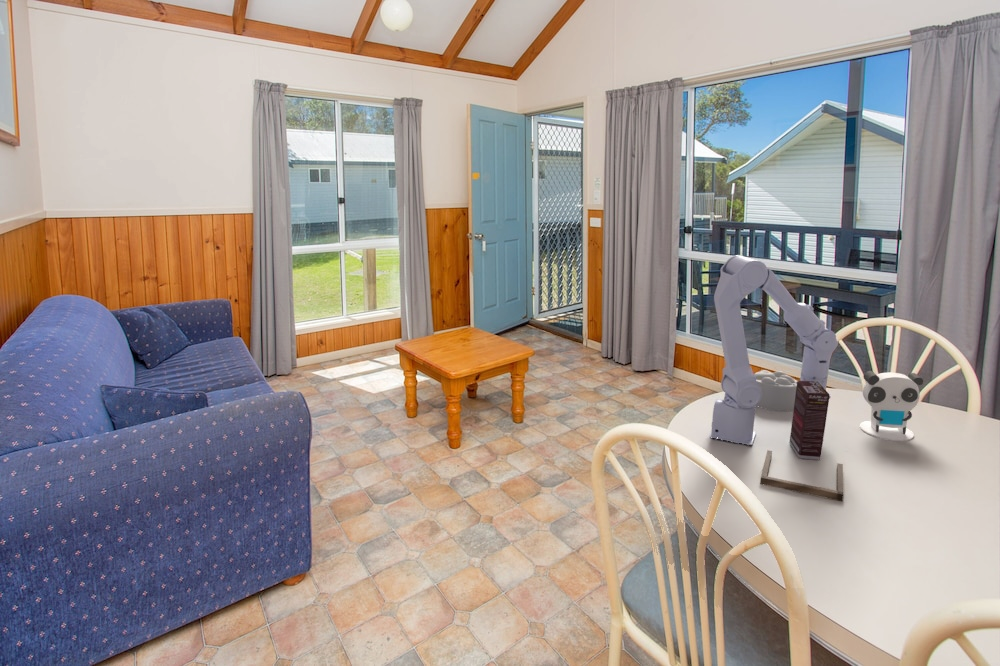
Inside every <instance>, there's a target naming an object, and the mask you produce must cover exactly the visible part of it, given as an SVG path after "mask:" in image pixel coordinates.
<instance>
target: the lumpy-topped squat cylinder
mask: <svg viewBox="0 0 1000 666" xmlns="http://www.w3.org/2000/svg"><path fill="white" fill-rule="evenodd" d="M754 375H755V377H756V382H757V384H758V385H759V386H760V388H761V389H762V399H761V401H760V402H759V403H758V404H757V405H756V407H757V406H759V407H758V408H760V407H762V408H761V409H764V408H766V409H765V410H768V409H769V410H768V411H772V410H775V411H774V412H784V413H785V412H789V411H790V412H793V411H794V403H795V395H796V387H797V381H798V380H796V378H793V376H791V375H789V374H788V375H787V374H786V372H784V371H782V370H776V371H774V372H772V371H769V370H767V369H761V370H759V371H757V372H755V373H754ZM790 412H789V413H790Z"/></svg>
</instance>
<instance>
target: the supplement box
mask: <svg viewBox="0 0 1000 666" xmlns="http://www.w3.org/2000/svg"><path fill="white" fill-rule="evenodd" d="M830 394H831V393H829V392H828V391H827V389H826V390H825V389H824V388H823V387H822V386H821V385H820V384H819V382H814V381H800V380H797V387H796V395H795V403H794V411H792V412H793V414H792V421H791V428H790V429H791V430H790V436H789V444H790V446H791V448H792V449H793V451H794V452H795V454H796V456H797V457H798V459H802V460H803V459H804V460H814V461H815V460H816V461H821V457H822V451H823V444H824V443H823V442H824V438H825V437H824V436H825V431H826V429H825V428H826V422H827V415H828V410H829V409H828V408H829V401H830V399H829V396H830Z"/></svg>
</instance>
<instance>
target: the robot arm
mask: <svg viewBox="0 0 1000 666" xmlns="http://www.w3.org/2000/svg"><path fill="white" fill-rule="evenodd" d="M758 289H760V290H763V291H764V292H765V293H766V294H767V295H768V296H769V297H770V298H771V299H772V300H773V302H775V303H776V304H777V305H778V306H779V308H781V309H782V310H783V320H784V321H785V322H786V323H787V324H788V325H789V326H790V328H791V329H792V330H793V331H794V332H795V333H796V334H797V336H798V337H799V341H800V343H801V344H804V347H803V355H802V363H801V368H800V378H799V381H814V382H819V384H820V385H821V386H822V387H823V388H824V389H825V390H826V391H827V385H828V377H829V372H830V371H829V369H830V362H831V358H832V354H833V352H834V351H835V350H836V349H837V347H838V345H839V341H838V340H837V335H836V333H835V332H834V331H833V330H830V329H829V328H826V322H825V320H822V319H820V318H819V317H818V316H817V315H816V314H815V313H814V310H815V308H814V307H813V306H812V305H810V304H806V303H804V302H797V301H796V299H795V298H794V297H793V296H792V295H791V293H790V291H788V290H787V288H786V287H785V286H784V285H783V283H782V282H781V280H780V279H779V278H778V276H776V274H775V273H774V271H773V270H772V269H770V268H769V267H767V265H766V264H765V263H764V262H762V261H761V260H756V259H752V258H750V257H746V256H745V255H741V254H737V255H733V256H731V257H729V258H728V259H727V260H726V261H725V263H723V265H721V267H720V277H719V280H718V282H717V286H716V288H715V291H714V295H713V301H714V307H715V312H716V317H717V324H718V330H719V333H720V334H719V336H720V340H721V346H722V353H723V357H724V358H723V359H724V363H725V366H724V367H723V368H722V378H721V381H720V386H721V387H720V388H721V390H722V391H723V393H724V396H723V399H719V398H717V399H715V401H714V405H713V410H712V421H711V431H710V432H711V434H710V438H711V437H712V438H717V437H718V439H722V440H721V441H723V440H727V441H726V442H728V441H732V442H731V443H733V442H736V443H735V444H739V443H742V444H741V445H744V444H747V445H746V446H749V445H752V446H753V444H754V441H755V438H756V435H757V431H755V430H754V426H755V417H756V408H757V406H756V405H757V404H758V403H759V402H760V401H761V399H762V389H761V388H760V386H759V385H758V384H757V382H756V377H755V375H754V374H755V373H754V371H753V369H752V367H751V365H750V359H749V353H748V347H747V341H746V340H747V339H746V335H745V329H744V328H745V327H744V321H743V317H742V316H743V315H742V310H741V309H742V308H741V302H742V301H743V300H744V298H745V297H747V296H749V295H750V294H751V293H753V292H754V291H756V290H758ZM829 394H830V396H829V400H831V393H829ZM755 434H756V435H755ZM712 438H711V439H712Z"/></svg>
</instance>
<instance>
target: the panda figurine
mask: <svg viewBox="0 0 1000 666" xmlns="http://www.w3.org/2000/svg"><path fill="white" fill-rule="evenodd" d="M863 379H864V381H865V384H864V386H863V387H862V388H863V390H862V396H863V398H864V400H865V402H866V403H868V404H869V406H870V408H871V411H870V412H871V413H870V414H871V415H870V420H865V421H862V422H860V424H859V428H860V430H861V431H862V432H863V433H865V434H867V435H869V436H871V437H874V438H877V439H881V440H886V441H893V442H908V441H910V440H913V438H914V436H915V435H914V434H915V433H914V432H913V431H912V430H910V429H909V428H907V423H908V421H909V420H911V418H912V417H913V414H912V412H911V411H912V410H914V409H915V408H916V406H918V403H919V402H920V401H919V400H920V398H921V397H920V389H919V386H921V385H923V383H924V380H923V378H922V377H921V376H919V375H918V374H917V373H916V372H910V373H909V374H908V375H906V374H904V373H899V372H881V373H877V374H876V373H875V372H874V371H872V370H868V371H865V372H864V374H863Z"/></svg>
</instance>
